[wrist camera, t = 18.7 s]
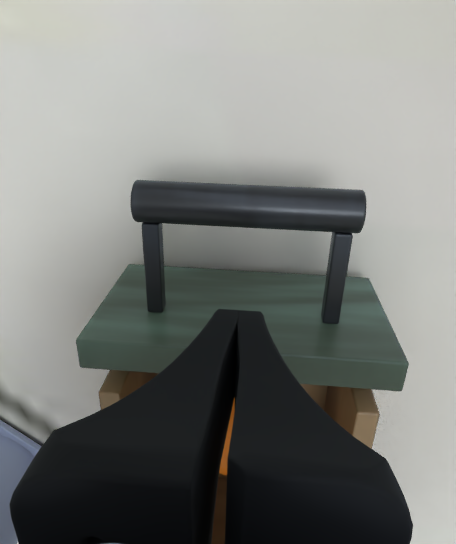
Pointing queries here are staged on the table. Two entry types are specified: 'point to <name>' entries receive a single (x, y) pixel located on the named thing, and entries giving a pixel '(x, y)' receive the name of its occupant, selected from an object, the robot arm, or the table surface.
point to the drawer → (250, 303)
